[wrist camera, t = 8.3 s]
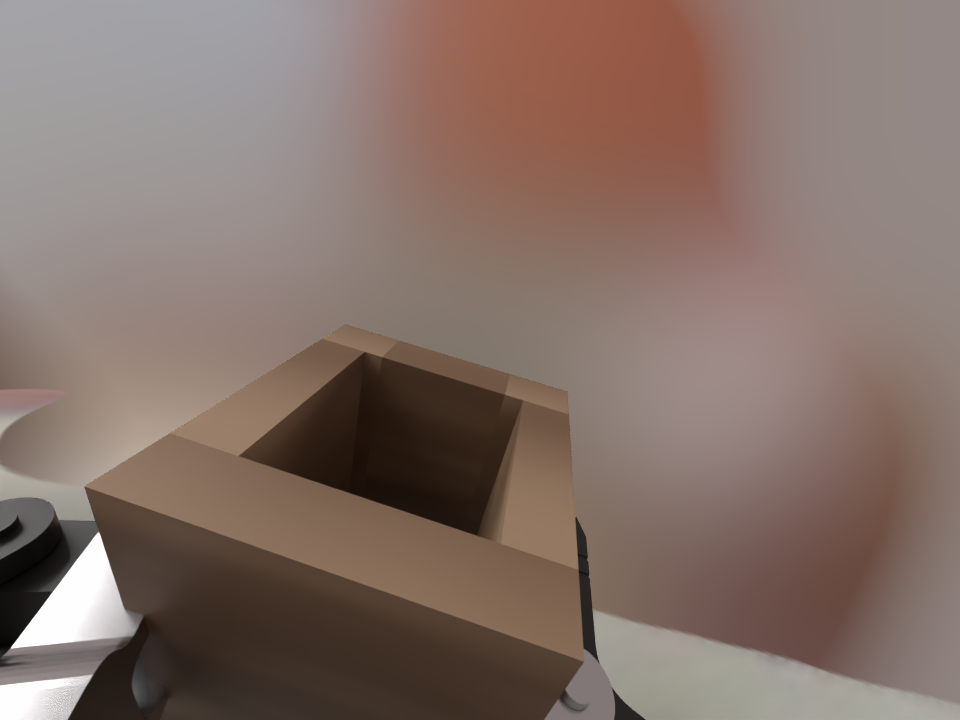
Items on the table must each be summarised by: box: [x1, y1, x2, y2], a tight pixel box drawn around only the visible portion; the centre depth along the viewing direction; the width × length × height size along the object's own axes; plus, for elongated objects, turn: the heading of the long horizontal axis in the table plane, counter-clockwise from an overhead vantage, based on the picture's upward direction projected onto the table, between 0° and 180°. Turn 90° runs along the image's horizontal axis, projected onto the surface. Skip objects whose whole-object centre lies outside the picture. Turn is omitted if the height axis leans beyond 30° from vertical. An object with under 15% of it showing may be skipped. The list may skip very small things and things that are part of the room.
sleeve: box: [84, 325, 584, 720], centre depth 9 cm, size 6×6×10 cm
